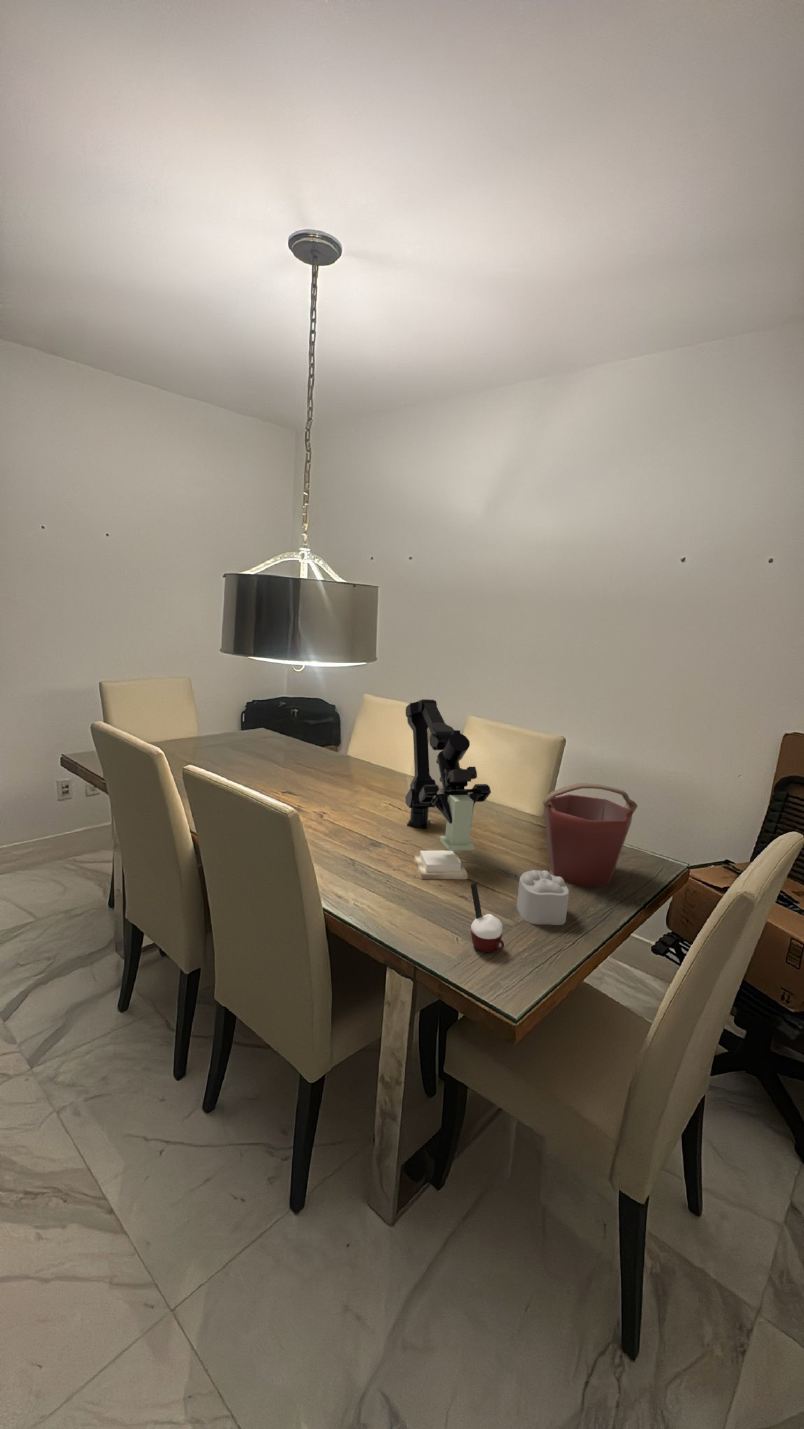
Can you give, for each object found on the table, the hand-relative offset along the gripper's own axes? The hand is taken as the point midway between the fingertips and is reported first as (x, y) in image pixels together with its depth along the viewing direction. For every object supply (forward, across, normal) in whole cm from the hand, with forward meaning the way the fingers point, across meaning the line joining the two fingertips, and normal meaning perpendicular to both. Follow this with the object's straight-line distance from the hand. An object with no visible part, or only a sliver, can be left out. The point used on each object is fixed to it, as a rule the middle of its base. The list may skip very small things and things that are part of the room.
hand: (460, 822), depth 157 cm
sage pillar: (+4, 0, +6) cm, 7 cm away
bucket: (+14, +34, +5) cm, 37 cm away
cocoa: (+34, -7, -15) cm, 38 cm away
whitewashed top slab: (+7, -4, +10) cm, 13 cm away
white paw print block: (+26, +12, -6) cm, 29 cm away
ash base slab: (+9, -4, +11) cm, 15 cm away
